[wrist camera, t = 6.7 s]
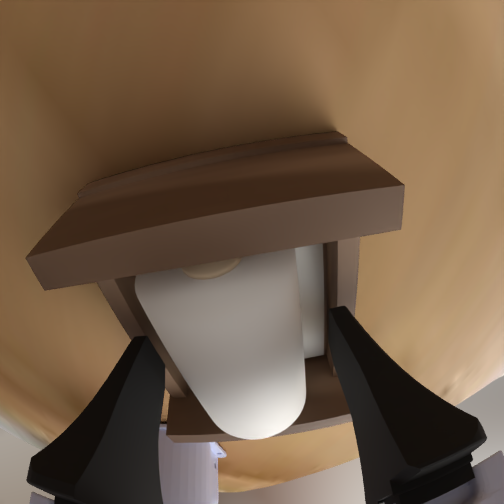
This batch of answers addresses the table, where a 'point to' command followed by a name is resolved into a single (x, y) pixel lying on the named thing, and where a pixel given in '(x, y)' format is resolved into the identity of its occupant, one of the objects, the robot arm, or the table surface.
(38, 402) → the table surface
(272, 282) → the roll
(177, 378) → the cradle
